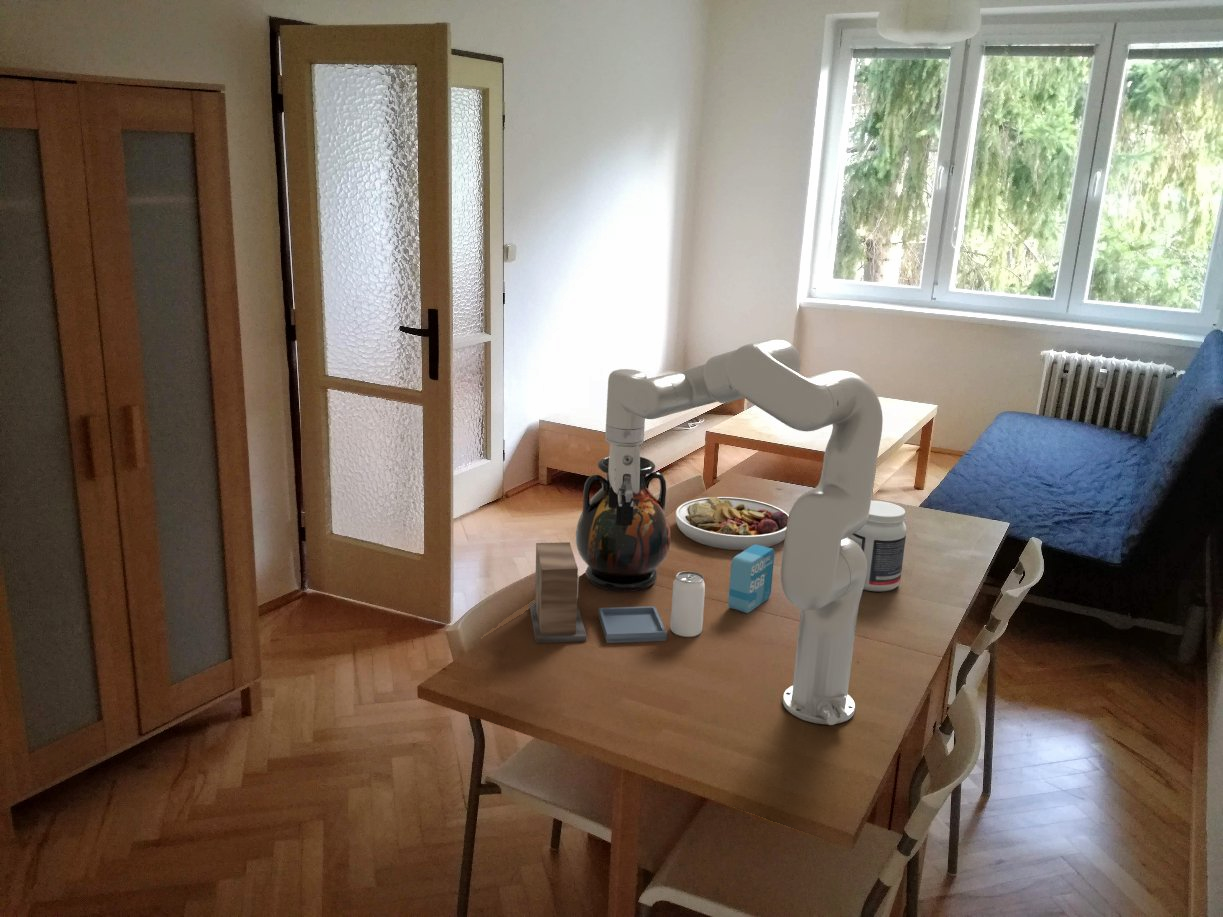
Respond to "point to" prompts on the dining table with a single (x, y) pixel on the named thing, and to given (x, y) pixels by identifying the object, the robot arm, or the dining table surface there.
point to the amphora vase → (623, 534)
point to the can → (687, 604)
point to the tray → (632, 624)
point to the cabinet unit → (556, 595)
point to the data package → (751, 578)
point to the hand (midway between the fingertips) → (619, 516)
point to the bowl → (732, 522)
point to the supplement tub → (883, 545)
